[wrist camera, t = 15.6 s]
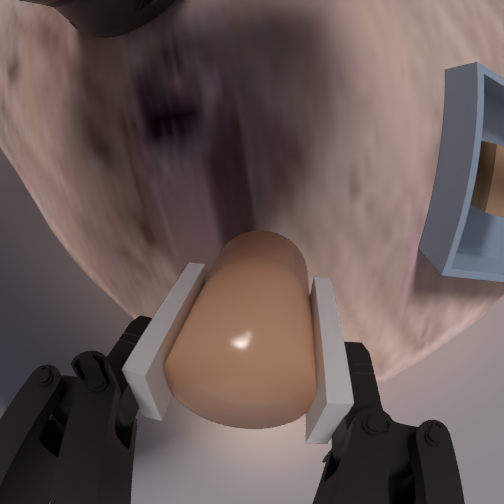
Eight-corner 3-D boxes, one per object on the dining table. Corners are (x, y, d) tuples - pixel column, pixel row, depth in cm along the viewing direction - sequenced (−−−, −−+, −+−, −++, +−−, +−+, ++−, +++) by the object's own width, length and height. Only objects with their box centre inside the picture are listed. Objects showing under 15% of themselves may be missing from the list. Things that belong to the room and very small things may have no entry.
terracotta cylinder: (217, 304, 16) (174, 415, 9) (217, 226, 14) (151, 324, 7) (299, 314, 16) (300, 433, 9) (313, 236, 14) (334, 349, 7)
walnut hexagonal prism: (488, 204, 21) (520, 223, 16) (452, 193, 22) (485, 212, 16) (497, 152, 18) (532, 163, 13) (460, 136, 19) (497, 144, 14)
